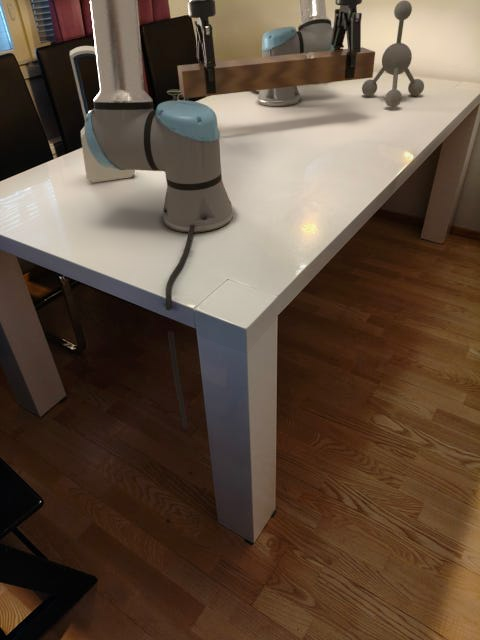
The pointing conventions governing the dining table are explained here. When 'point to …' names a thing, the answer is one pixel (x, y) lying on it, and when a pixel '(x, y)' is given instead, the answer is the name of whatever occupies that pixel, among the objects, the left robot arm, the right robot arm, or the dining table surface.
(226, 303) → the dining table surface
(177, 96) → the grenade
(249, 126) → the dining table surface
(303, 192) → the dining table surface
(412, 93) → the molecular model
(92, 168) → the electronic device
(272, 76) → the wide beam
